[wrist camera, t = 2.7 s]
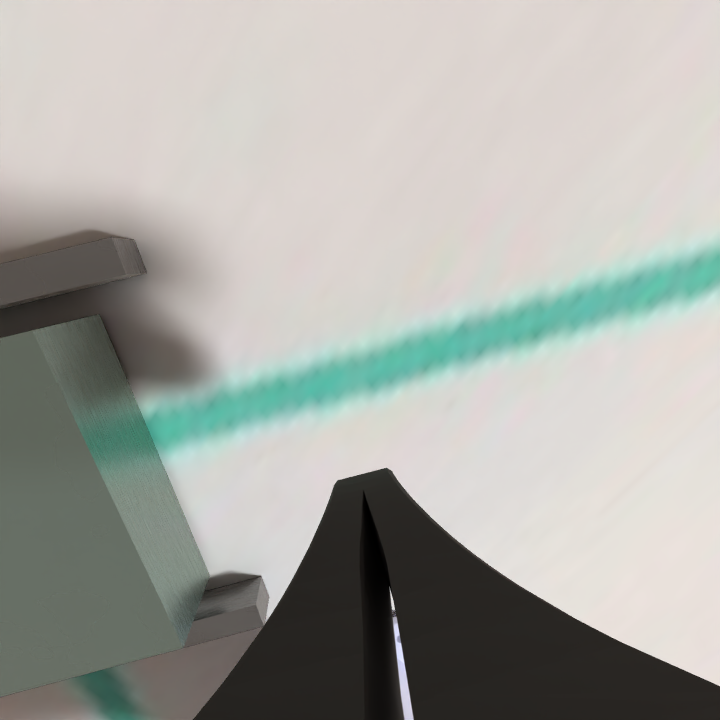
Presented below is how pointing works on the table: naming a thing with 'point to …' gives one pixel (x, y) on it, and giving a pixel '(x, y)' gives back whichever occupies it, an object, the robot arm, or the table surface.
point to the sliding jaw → (84, 516)
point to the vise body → (95, 267)
